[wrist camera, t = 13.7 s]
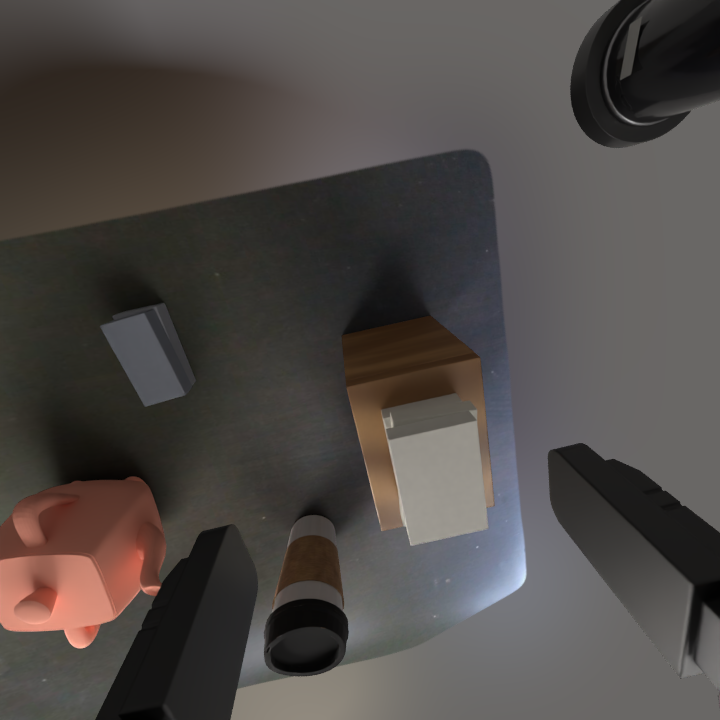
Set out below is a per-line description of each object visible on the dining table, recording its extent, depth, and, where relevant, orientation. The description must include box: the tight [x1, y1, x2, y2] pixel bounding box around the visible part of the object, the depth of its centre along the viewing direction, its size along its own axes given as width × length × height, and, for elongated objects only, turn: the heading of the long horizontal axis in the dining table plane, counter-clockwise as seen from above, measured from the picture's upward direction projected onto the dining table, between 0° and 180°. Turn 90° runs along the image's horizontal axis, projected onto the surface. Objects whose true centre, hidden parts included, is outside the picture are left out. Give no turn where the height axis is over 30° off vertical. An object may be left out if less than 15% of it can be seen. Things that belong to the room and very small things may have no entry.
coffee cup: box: [264, 515, 349, 676], centre depth 41 cm, size 8×8×15 cm
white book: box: [386, 411, 488, 546], centre depth 25 cm, size 9×6×1 cm, turn 12°
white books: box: [381, 393, 477, 526], centre depth 27 cm, size 10×7×3 cm
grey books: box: [100, 303, 196, 407], centre depth 36 cm, size 9×5×4 cm, turn 12°
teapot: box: [0, 477, 166, 648], centre depth 38 cm, size 17×16×13 cm
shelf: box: [342, 316, 495, 531], centre depth 35 cm, size 14×10×14 cm
